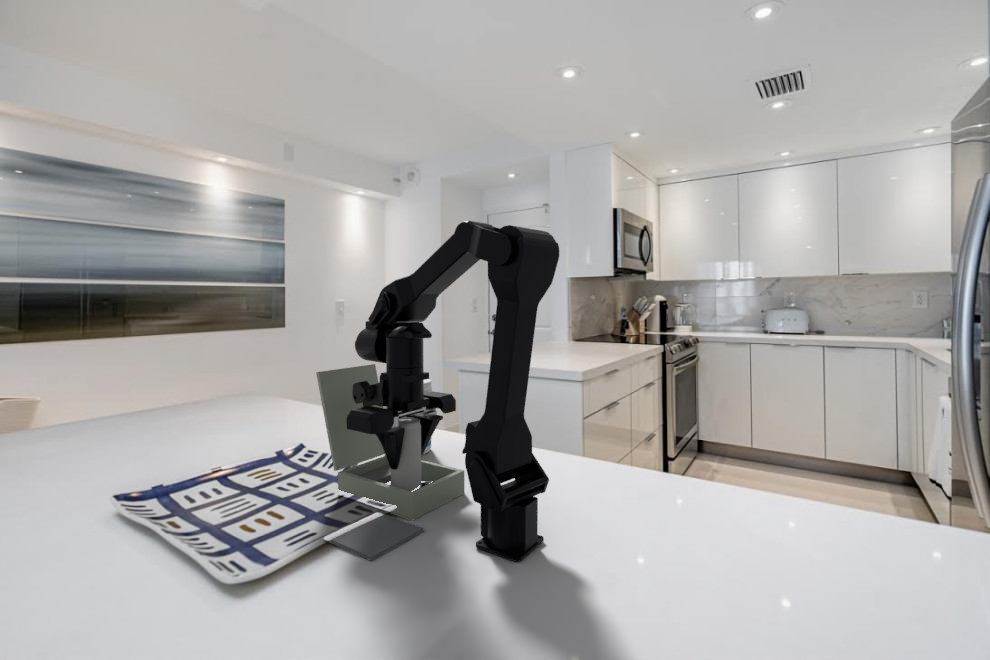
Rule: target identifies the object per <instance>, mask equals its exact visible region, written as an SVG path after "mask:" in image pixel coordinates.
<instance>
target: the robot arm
mask: <svg viewBox="0 0 990 660" xmlns="http://www.w3.org/2000/svg"><path fill="white" fill-rule="evenodd" d="M480 260H482V261H485V262H487V277H488V280H489V283H490V285H491V288H492V291H493V293H494V295H495V298H496V312H495V321H494V329H493V336H492V337H493V339H492V345H491V356H490V362H489V363H490V365H489V373H488V381H487V382H488V383H487V389H486V399H485V408H484V411H483V412H484V413H483V414H482V416H481V417H480V418H479V420H474V421H471V422H468V423H467V425H466V428H465V443H464V447H463V448H462V453H461V454H465V456H464V464H465V471H466V473H467V474H466V475H467V478H468V481H469V486H470V490H471V494H472V495H471V496H472V498H473V501H474V502H475V503H477V504H479V506H480V536H481V538H480V539H479V540H477V541H475V547H476V548H477V549H480V550H482V551H485V552H488V553H491V554H493V555H496V556H499V557H503V558H505V559H508V560H511V561H513V562H521V561H522V560H524V558H526V557H527V556H528V555H529V554H530V553H531V552H533V551H534V550H535V549H536V548H538V547H539V546H540V545H541V544H542V543H544V536H543V535H540V534H538V520H539V519H538V513H539V512H538V509H539V507H538V506H539V504H538V503H539V501H538V500H539V499H538V498H539V497H537V496H538V495H539V494H540V495H541V494H544V493H545V492H546V490H547V488H548V484H549V481H550V479H549V476H548V475H547V473H546V471H545V470H544V469H543V467H542V466H541V464H540V463H539V461H538V460H537V458H536V456H535V455H534V453H533V435H532V433H531V431H530V427H529V426H528V424H527V421H526V419H525V410H526V409H525V407H526V401H527V394H528V393H527V392H528V386H529V385H528V384H529V376H530V370H531V369H530V368H531V361H532V353H533V345H534V337H535V332H536V322H537V316H538V315H537V314H538V307H539V304H540V302H541V301H542V299H543V298H544V296H545V295H546V293H547V291H548V290H549V288H550V287H551V285H552V284H553V281H554V278H555V277H554V276H555V274H556V271H557V267H558V262H559V260H560V246H559V243H558V242H557V241H556V239H555V238H554V236H553V235H552V234H550V233H549V232H548V231H545V230H541V229H535V228H529V227H528V228H527V227H522V226H516V225H503V226H502V227H500V228H499V227H495V226H493V225H492V224H490V223H485V222H480V221H473V220H465V221H463V222H460V223H459V224H458V225H457V226H456V227H455V229H454V233H453V234H452V235H451V236H450V237H449V238H448V239H447V240H446V241H444V243H443V244H441V245H440V247H438V248H437V250H435V252H433V253H432V254H431V255H430V256H429V258H427V259H426V260H425V261H424V262H423V263H422V265H420V266H419V267H418V268H417V269H416V270H415V271H414V272H413V273H411V274H409V275H406V276H404V277H401V278H398V279H394V281H391V282H390V283H388V284H387V285H386V286H384V287H383V288H382V290H381V291H380V293H379V294H378V298H377V300H376V303H375V305H374V307H373V310H372V312H371V314H370V316H368V318H367V319H368V320H366V321H365V328H363V329H362V330H361V331H359V333H358V335H357V336H356V339H355V342H354V348H355V352H356V354H357V355H358V357H360V358H361V359H363V360H364V361H368V362H369V361H370V362H375V363H382V364H385V365H386V368H385V370H386V371H384V372H381V373H380V375H379V383H377V384H373V385H370V384H369V383H368V381H363V382H357V383H355V384H353V393H352V395H353V399H354V402H355V403H356V404H358V403H363V407H361V408H357V409H353V410H351V411H350V412H349V413H348V415H347V429H349V430H354V431H358V432H363V433H367V434H375V435H376V436H377V437H378V439H379V441H380V443H381V445H382V447H383V450H384V452H385V454H384V456H386V457H387V460H388V463H389V465H390V468H391V469H394V470H396V469H397V468H398V464H399V461H400V455H401V449H402V444H403V438H404V432H405V428H402V427H399V420H398V419H399V418H402V417H407V418H417V419H419V420H420V424H421V458H422V457H423V455H424V454H423V453H424V451H425V449H426V447H427V445H428V442H429V440H430V438H431V439H432V436H433V434H434V432H435V431H436V429H437V427H438V425H439V423H440V421H441V420H443V419H444V415H439V414H437V412H438V411H437V410H436V409H440V412H442V413H443V414H450V413H453V412H456V411H457V410H456V409H457V401H456V398H455V397H454V396H453V394H452V393H445V392H439V391H433V390H432V392H427V393H424V380H425V379H430V372H429V371H424V339H431V338H432V336H433V334H432V333H431V331H430V330H429V329H428V328H426V326H425V325H424V323H423V322H424V321H427V318H429V316H430V315H431V313H432V312H433V311H434V310H435V309H436V307H437V300H438V297H439V296H440V295H441V294H442V293H444V291H445V290H447V289H448V288H449V287H450V286H451V285H452V284H454V283H455V282H456V281H457V280H458V279H459V278H461V277H462V276H464V274H465V273H466V272H467V271H468V270H470V269H471V268H472V267H473V266H475V264H477V263H478V262H479V261H480ZM373 405H377V406H382V407H384V406H387V409H384V408H379V407H373ZM398 411H402V412H399V413H398ZM510 480H512V481H510ZM508 481H510V482H508ZM505 482H506V483H505ZM502 483H504V484H502Z"/></svg>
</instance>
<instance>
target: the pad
mask: <svg viewBox="0 0 990 660" xmlns="http://www.w3.org/2000/svg"><path fill="white" fill-rule="evenodd" d="M423 532H424V527H422V526H419V525H416V524H413V523H410V522H407V521H404V520H403V519H402V520H401V519H399V518H396V517H394V516H390V515H388V514H385V515H384V516H382V517H379V518H377V519H375V520H373V521H370V522H369V523H366V524H364V525H362V526H360V527H358V528H356V529H354V530H352V531H350V532H348V533H346V534H344V535H342V536H340V537H338V538H335V539H333V540H332V541H331V542H328V543H330V544H331V545H334V546H337V547H339V548H340V549H343V550H345V551H347V552H350V553H352V554H354V555H357V556H359V557H362V558H364V559H365V560H368V561H371V562H373V561H375V560H377V559H378V558H380V557H382V556H383V555H385V554H386V553H389V552H391V551H392V550H394V549H395V548H397V547H399V546H401V545H403V544H404V543H406V542H408V541H409V540H411V539H413V538H415V537H416V536H418V535H420V534H421V533H423Z"/></svg>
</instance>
